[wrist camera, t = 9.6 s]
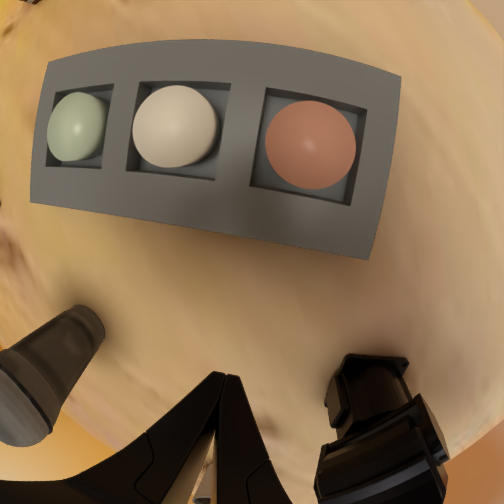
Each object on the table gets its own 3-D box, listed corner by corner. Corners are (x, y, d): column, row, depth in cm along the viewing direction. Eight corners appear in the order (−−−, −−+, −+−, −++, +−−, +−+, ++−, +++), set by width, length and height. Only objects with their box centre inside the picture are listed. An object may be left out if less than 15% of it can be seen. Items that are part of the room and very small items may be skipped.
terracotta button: (351, 118, 15) (361, 112, 13) (338, 193, 17) (347, 197, 15) (273, 102, 16) (273, 93, 13) (260, 177, 17) (258, 180, 15)
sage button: (119, 94, 16) (102, 88, 14) (109, 161, 18) (90, 162, 15) (71, 99, 16) (52, 96, 14) (63, 159, 18) (43, 160, 15)
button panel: (388, 85, 15) (401, 76, 13) (358, 249, 19) (368, 260, 16) (64, 67, 16) (48, 62, 14) (47, 197, 19) (30, 202, 17)
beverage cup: (66, 342, 24) (-40, 461, 5) (55, 283, 22) (-89, 400, 3) (120, 364, 24) (21, 519, 5) (114, 303, 22) (-38, 474, 3)
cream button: (226, 96, 16) (219, 87, 13) (214, 170, 17) (205, 172, 15) (155, 93, 16) (140, 86, 14) (144, 163, 17) (127, 164, 15)
